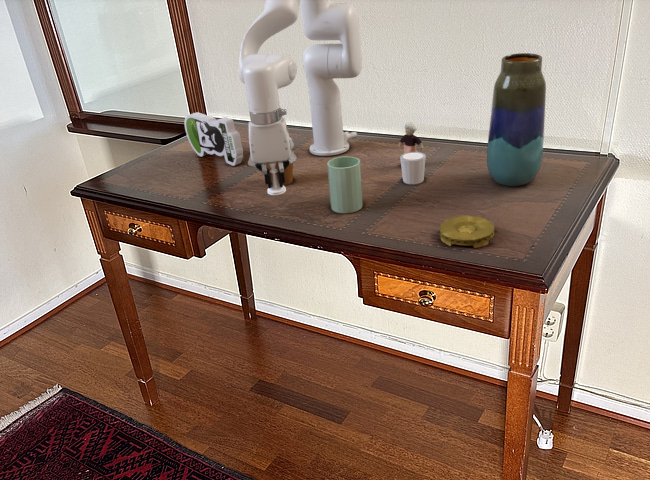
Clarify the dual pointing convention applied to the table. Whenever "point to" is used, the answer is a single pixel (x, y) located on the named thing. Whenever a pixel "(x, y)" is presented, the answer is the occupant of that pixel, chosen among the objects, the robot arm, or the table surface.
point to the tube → (345, 184)
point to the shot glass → (413, 167)
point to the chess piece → (275, 182)
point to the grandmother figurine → (410, 139)
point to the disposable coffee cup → (288, 171)
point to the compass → (467, 231)
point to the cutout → (214, 137)
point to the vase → (517, 120)
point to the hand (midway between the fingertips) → (275, 185)
